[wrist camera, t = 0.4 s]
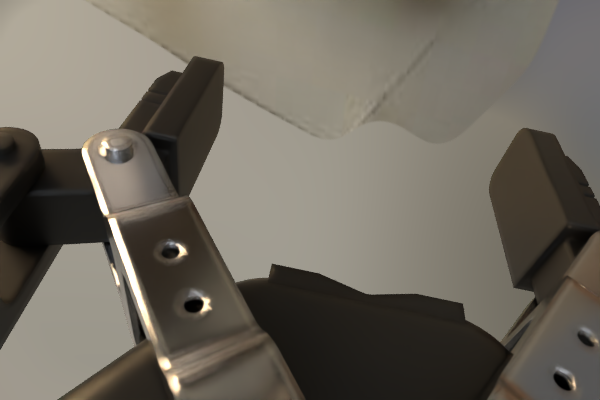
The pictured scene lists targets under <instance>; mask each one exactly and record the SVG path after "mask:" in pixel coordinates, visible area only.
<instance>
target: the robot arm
mask: <svg viewBox="0 0 600 400" xmlns="http://www.w3.org/2000/svg"><path fill="white" fill-rule="evenodd" d="M223 82H224V64H223V62H220V61H215V60H211V59H206V58H201V57H197V56H194V57H193V58H192V60H191V61H190V63H189V64H188V66H187V67H186V69H185V70H184V72H183V73H180V72H176V71H170V72H168V73H166V74H165V75H163V76H161V77H159V78H157V79H156V80H155V81H154V83H153V84H152V85H151V87H150V88H149V90H148V92H146V93H145V95H144V96H143V98H142V100H141V101H139V103H138V104H137V105H136V107H135V108H134V109H133V110H132V112H131V113H130V114H129V116H128V117H127V118H126V120H125V121H124V122H123V124H122V125H121V126H120V128H119V129H110V130H106V131H102V132H99V133H97V134H95V135H93V136H92V137H90V138H89V139H88V140H87V141H86V142H85V143H84V145H83V147H82V148H81V149H41V147H40V144H39V141H38V139H37V137H36V136H35V135H34V134H33V133H31V132H29V131H27V130H24V129H20V128H13V127H2V128H0V349H1V348H2V346H3V344H4V343H5V341H6V339H7V338H8V336H9V334H10V332H11V331H12V329H13V327H14V326H15V324H16V322H17V321H18V319H19V317H20V316H21V314H22V312H23V311H24V309H25V307H26V306H27V304H28V302H29V301H30V299H31V297H32V296H33V294H34V292H35V291H36V289H37V287H38V286H39V284H40V282H41V281H42V279H43V277H44V276H45V274H46V272H47V271H48V269H49V267H50V266H51V264H52V262H53V261H54V259H55V257H56V256H57V254H58V252H59V250H60V249H61V247H62V246H63V244H80V243H97V242H102V244H103V247H104V250H105V253H106V256H107V259H108V262H109V266H110V269H111V272H112V275H113V278H114V281H115V284H116V287H117V289H118V293H119V296H120V299H121V302H122V305H123V308H124V312H125V316H126V320H127V324H128V327H129V331H130V334H131V338H132V341H133V343H134V348H132V349H131V350H129V351H128V352H126V353H125V354H123V355H122V356H120V357H119V358H117V359H116V360H115V361H113V362H112V363H110V364H109V365H107V366H106V367H104V368H103V369H102V370H100V371H99V372H97V373H96V374H94V375H93V376H91V377H90V378H88V379H87V380H85V381H84V382H83V383H82V384H80V385H78V386H77V387H75V388H74V389H72V390H71V391H69V392H68V393H66V394H65V395H64V396H62V397H61V398H59V399H58V400H600V206H599V203H598V201H597V199H595V198H594V193H593V192H592V190H591V188H590V187H588V185H589V184H588V182H587V180H586V178H585V176H584V174H583V172H582V170H581V169H580V168H579V167H578V166H577V165H576V164H575V163H574V162H573V161H572V160H571V159H570V158H569V157H568V156H565V154H564V152H563V150H562V148H561V146H560V144H559V142H558V140H557V138H556V136H555V135H554V134H551V133H546V132H542V131H537V130H532V129H528V128H523V129H521V130H520V131H519V132H518V133H517V134H516V136H515V138H514V140H513V141H512V143H511V144H510V146H509V148H508V149H507V151H506V153H505V154H504V156H503V157H502V159H501V161H500V162H499V164H498V166H497V167H496V169H495V171H494V173H493V175H492V177H491V181H490V186H489V193H490V198H491V202H492V206H493V209H494V213H495V217H496V221H497V225H498V229H499V233H500V236H501V240H502V244H503V248H504V252H505V256H506V260H507V263H508V267H509V271H510V275H511V279H512V283H513V287H514V288H518V289H523V290H528V291H532V292H534V294H535V298H534V299H533V300H532V301H531V302H530V303H529V304H528V305H527V307H526V308H525V309H524V311H523V312H522V314H521V315H520V316H519V318H518V319H517V320H516V322H515V323H514V325H513V326H512V327H511V329H510V330H509V331H508V333H507V334H506V335H505V337H504V338H503V339H502V341H501V342H499V341H497V340H496V339H495V338H494V337H493V336H491V335H490V334H488V333H487V332H486V331H484V330H483V329H481V328H480V327H478V326H476V325H474V324H472V323H470V322H468V321H466V320H465V315H464V308H463V304H462V303H457V302H452V301H448V300H442V299H438V298H433V297H429V296H423V295H419V294H385V295H369V294H365V293H362V292H360V291H357V290H355V289H353V288H351V287H348V286H346V285H344V284H342V283H339V282H337V281H335V280H332V279H330V278H328V277H326V276H323V275H321V274H319V273H314V272H309V271H304V270H299V269H295V268H290V267H285V266H280V265H276V264H272V266H271V270H270V274H269V278H256V279H249V280H244V281H240V282H236V283H235V281H234V279H233V277H232V275H231V273H230V271H229V270H228V268H227V266H226V264H225V262H224V260H223V258H222V256H221V255H220V253H219V251H218V249H217V247H216V245H215V243H214V241H213V239H212V237H211V236H210V234H209V232H208V230H207V228H206V226H205V224H204V222H203V220H202V219H201V217H200V215H199V213H198V211H197V209H196V207H195V205H194V204H193V202H192V200H191V199H190V197H189V194H190V192H191V190H192V188H193V186H194V184H195V181H196V180H197V177H198V175H199V173H200V171H201V169H202V167H203V165H204V162H205V160H206V158H207V156H208V154H209V152H210V149H211V147H212V145H213V143H214V141H215V139H216V137H217V134H218V131H219V128H220V124H221V118H222V103H223Z"/></svg>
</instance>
